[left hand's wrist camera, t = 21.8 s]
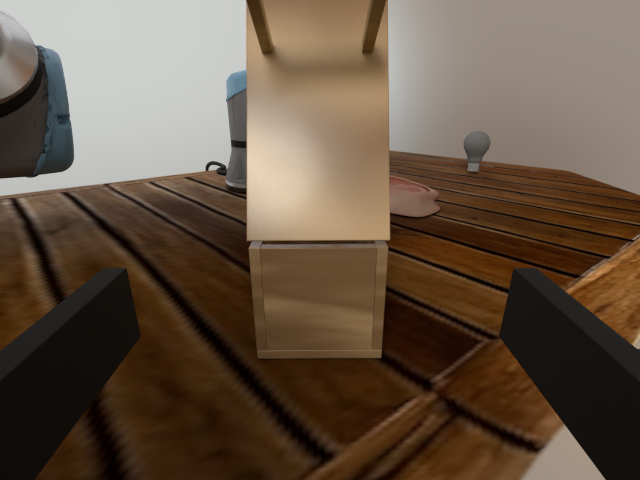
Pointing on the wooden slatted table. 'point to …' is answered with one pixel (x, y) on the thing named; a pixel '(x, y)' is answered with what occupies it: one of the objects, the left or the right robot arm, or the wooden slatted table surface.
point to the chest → (318, 298)
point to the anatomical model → (411, 198)
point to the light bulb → (476, 149)
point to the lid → (317, 120)
